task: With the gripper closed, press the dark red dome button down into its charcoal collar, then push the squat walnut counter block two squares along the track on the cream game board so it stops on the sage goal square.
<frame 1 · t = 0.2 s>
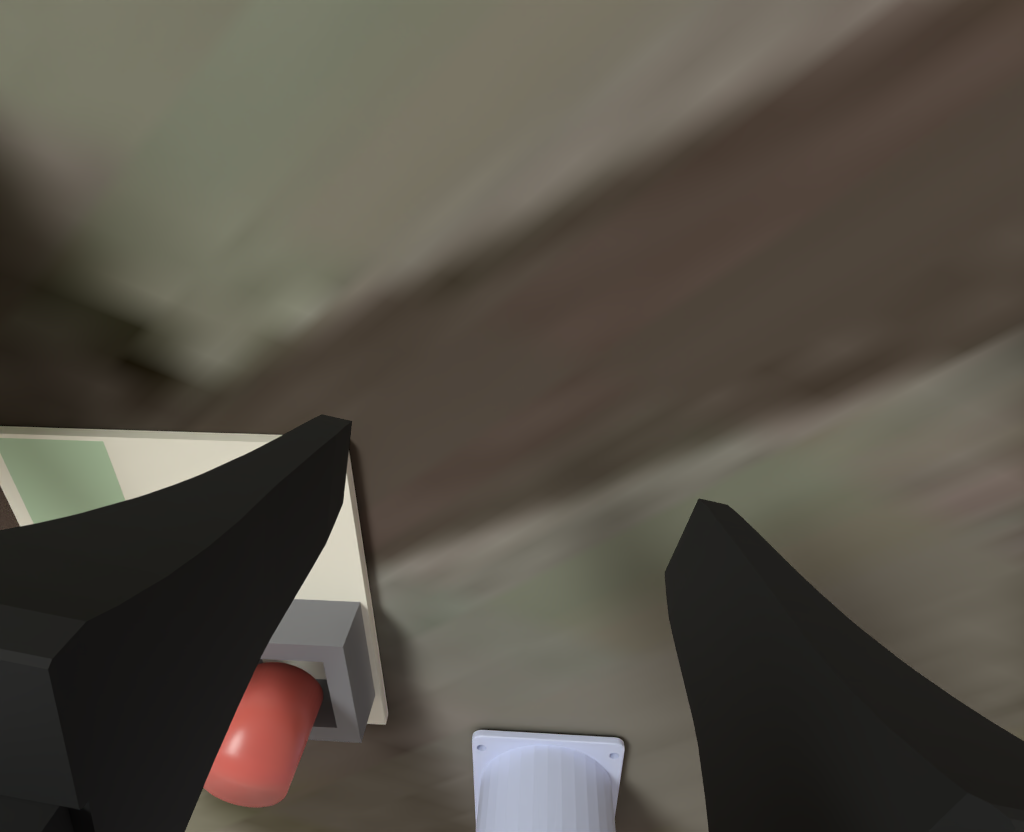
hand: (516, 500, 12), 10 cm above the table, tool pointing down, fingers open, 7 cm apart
board: (213, 588, 28), on the table
dome button: (264, 731, 24), point 5 cm above the table, slide at 0.0 cm
dome collar: (307, 637, 29), resting on board
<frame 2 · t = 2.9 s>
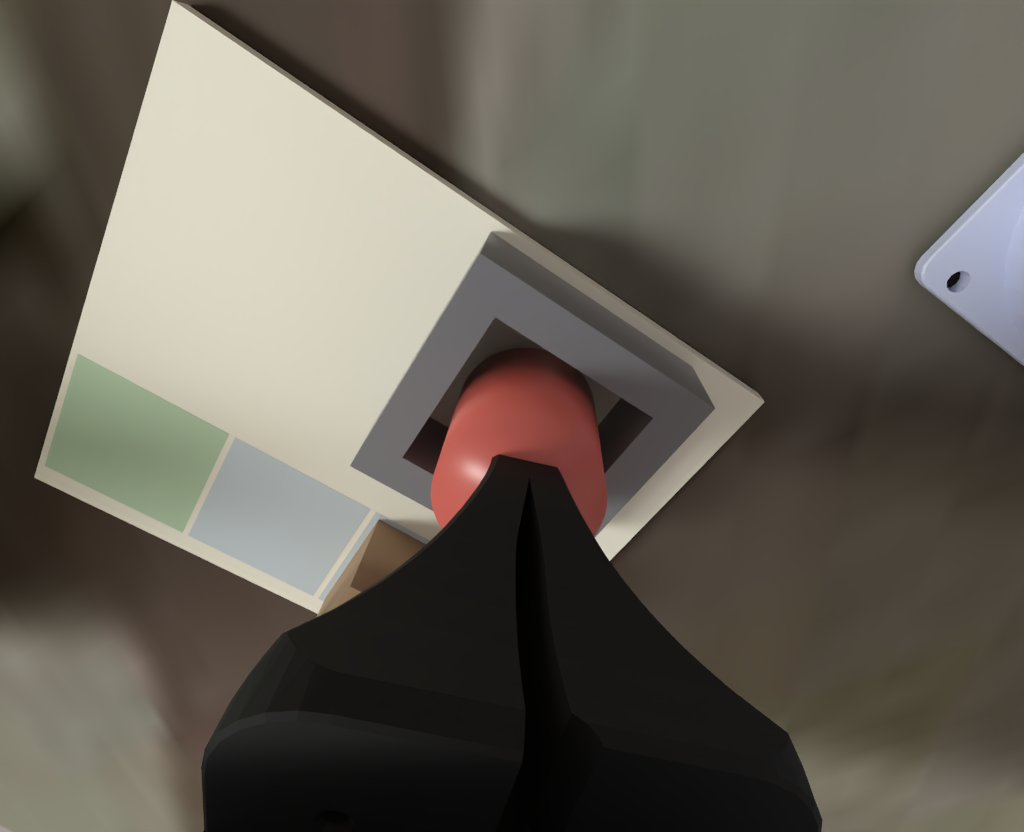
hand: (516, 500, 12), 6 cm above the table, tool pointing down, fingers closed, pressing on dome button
board: (375, 433, 18), on the table
dome button: (522, 450, 14), point 4 cm above the table, slide at 1.2 cm, touching gripper
dome collar: (528, 385, 17), resting on board
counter: (405, 588, 20), point 1 cm above the table, touching board
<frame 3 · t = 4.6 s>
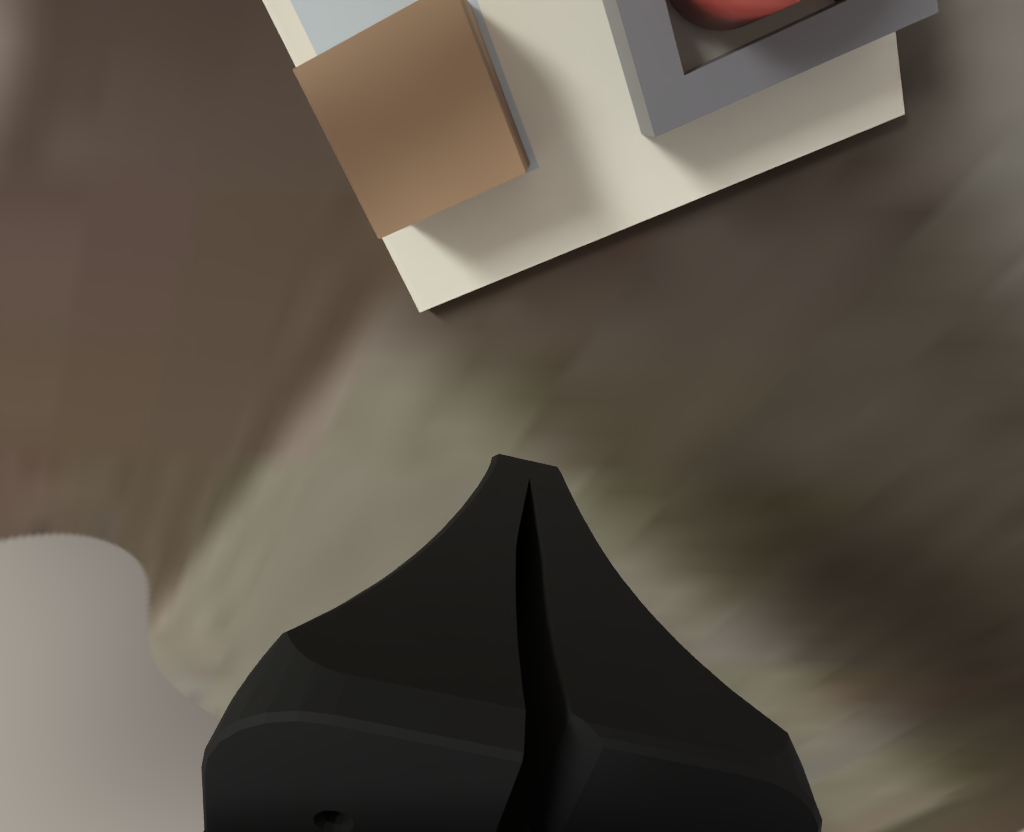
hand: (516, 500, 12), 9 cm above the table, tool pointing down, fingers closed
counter: (434, 120, 17), point 1 cm above the table, touching board
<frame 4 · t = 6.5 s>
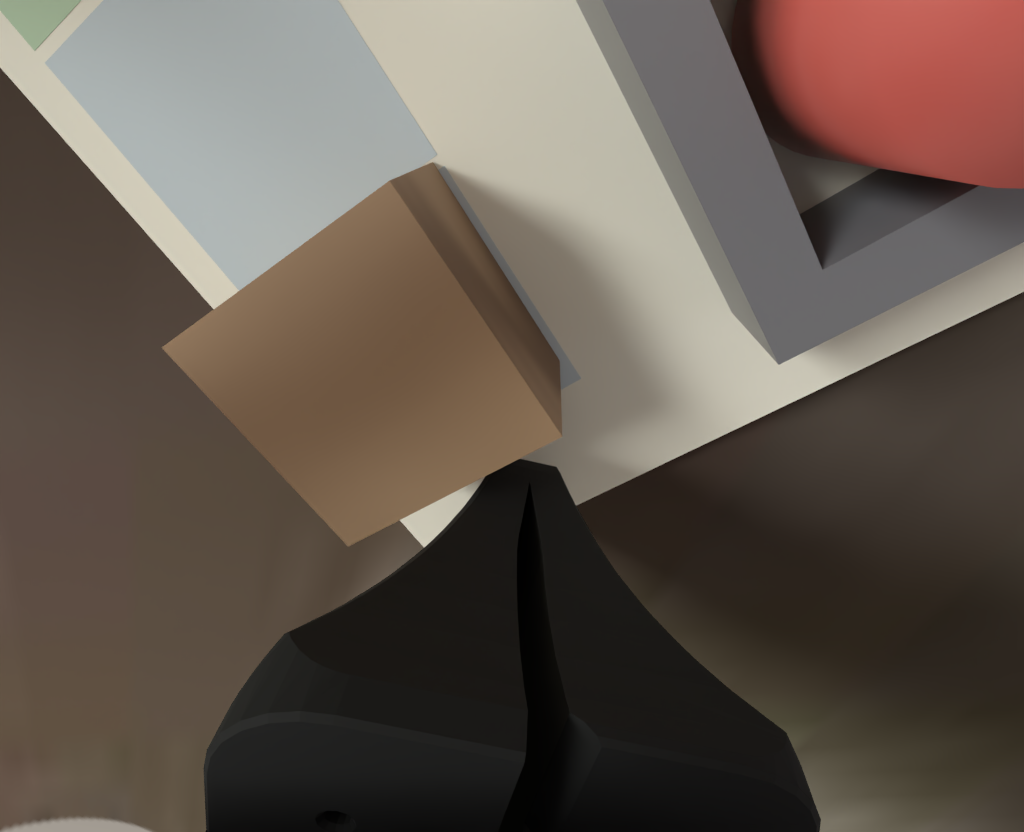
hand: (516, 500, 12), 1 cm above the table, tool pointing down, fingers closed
board: (513, 6, 9), on the table
dome collar: (831, 28, 9), resting on board
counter: (409, 326, 11), point 1 cm above the table, touching gripper
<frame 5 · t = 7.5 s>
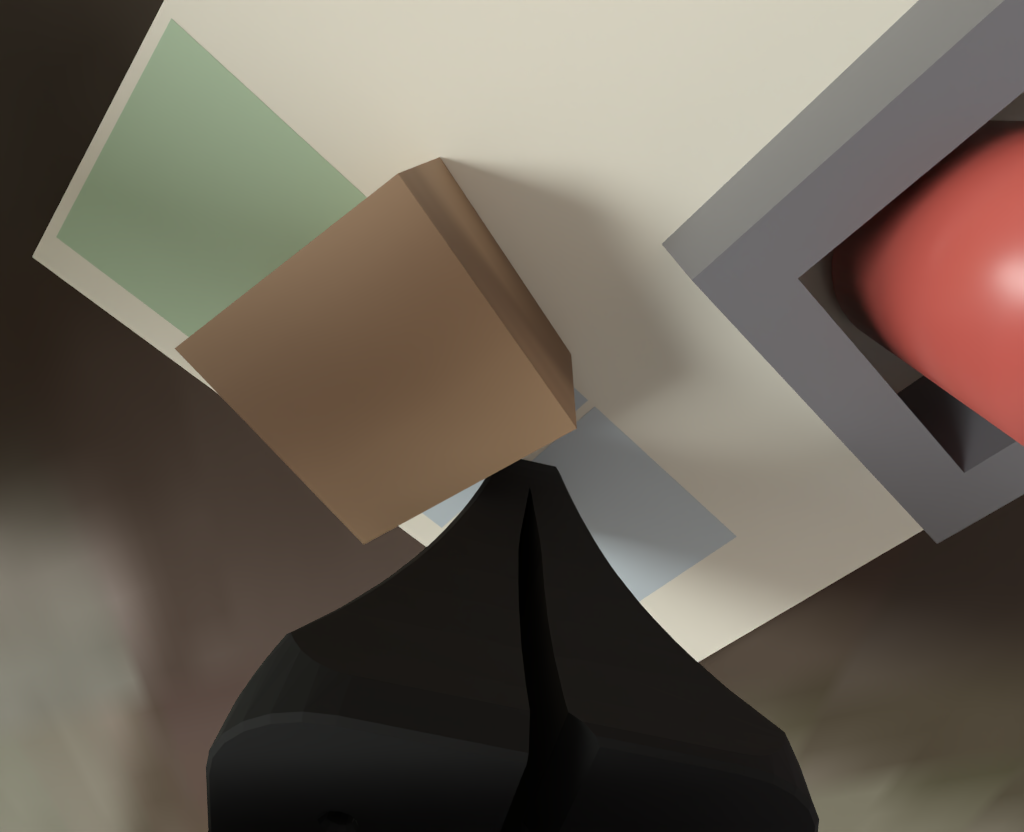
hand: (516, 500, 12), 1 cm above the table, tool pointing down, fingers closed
board: (630, 276, 11), on the table
dome collar: (912, 232, 10), resting on board
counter: (419, 323, 11), point 1 cm above the table, touching gripper
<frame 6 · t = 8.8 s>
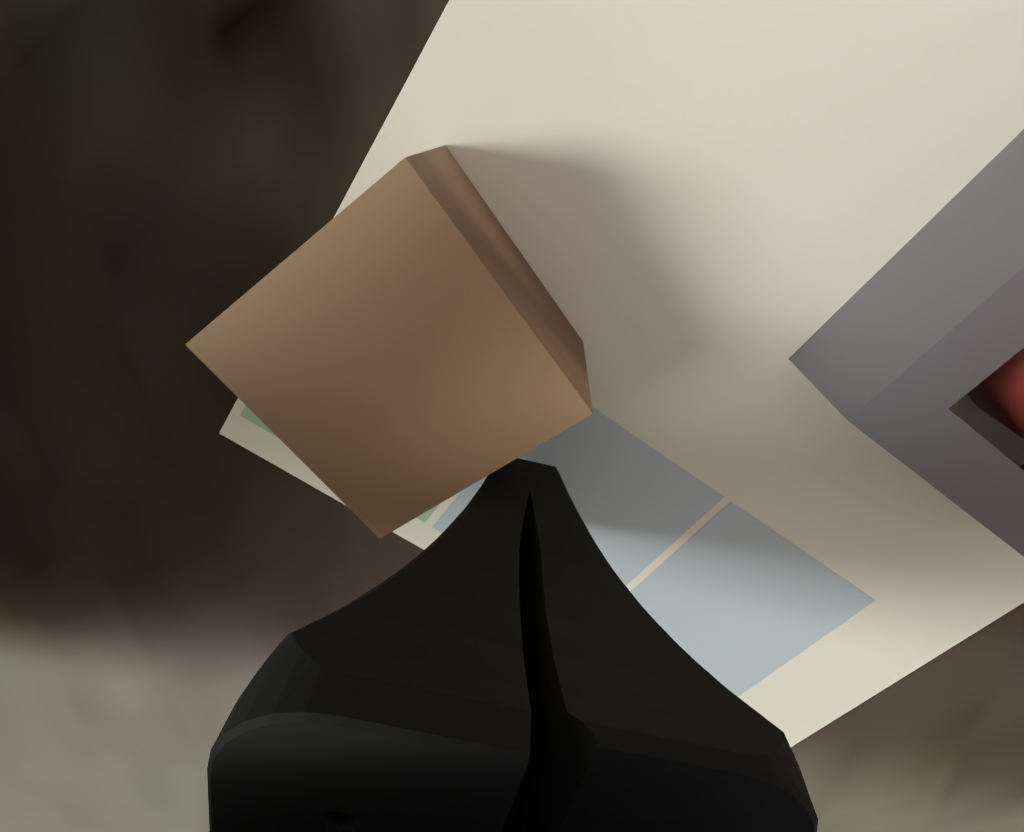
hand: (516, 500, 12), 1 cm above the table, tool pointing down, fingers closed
board: (754, 382, 12), on the table
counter: (429, 315, 11), point 1 cm above the table, touching board, gripper
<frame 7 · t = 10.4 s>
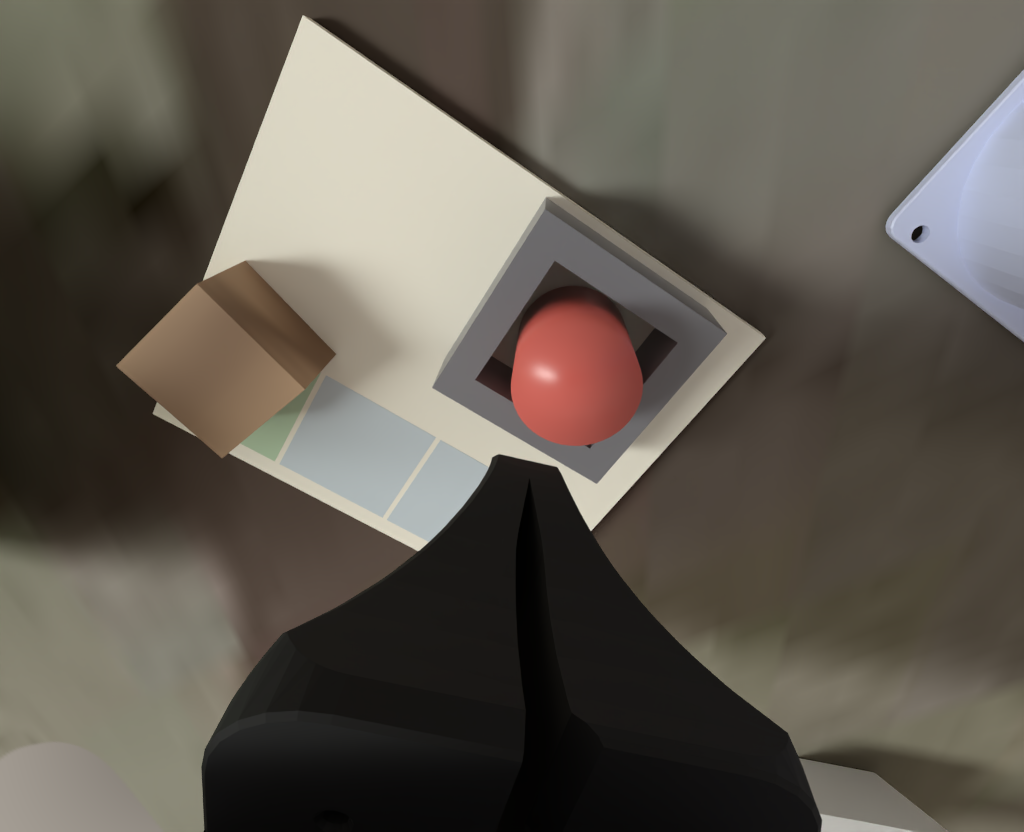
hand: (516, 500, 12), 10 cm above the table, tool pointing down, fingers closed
board: (441, 371, 22), on the table
dome button: (573, 361, 18), point 3 cm above the table, slide at 1.8 cm
figurine: (815, 784, 32), on the table
dome collar: (570, 328, 21), resting on board
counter: (253, 343, 21), point 1 cm above the table, touching board
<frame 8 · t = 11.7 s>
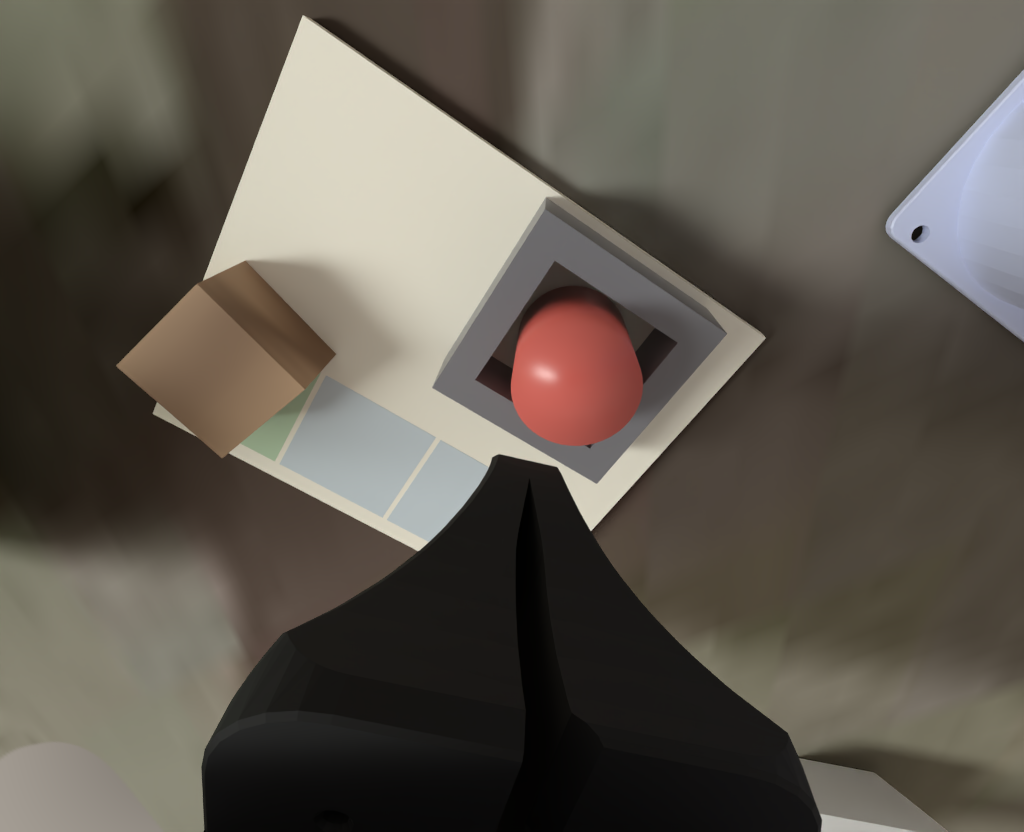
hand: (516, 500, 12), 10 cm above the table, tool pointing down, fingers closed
board: (441, 371, 22), on the table
dome button: (573, 361, 18), point 3 cm above the table, slide at 1.8 cm
figurine: (815, 784, 32), on the table
dome collar: (570, 328, 21), resting on board
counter: (253, 343, 21), point 1 cm above the table, touching board
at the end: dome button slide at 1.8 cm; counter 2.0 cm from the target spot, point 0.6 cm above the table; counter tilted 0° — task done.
